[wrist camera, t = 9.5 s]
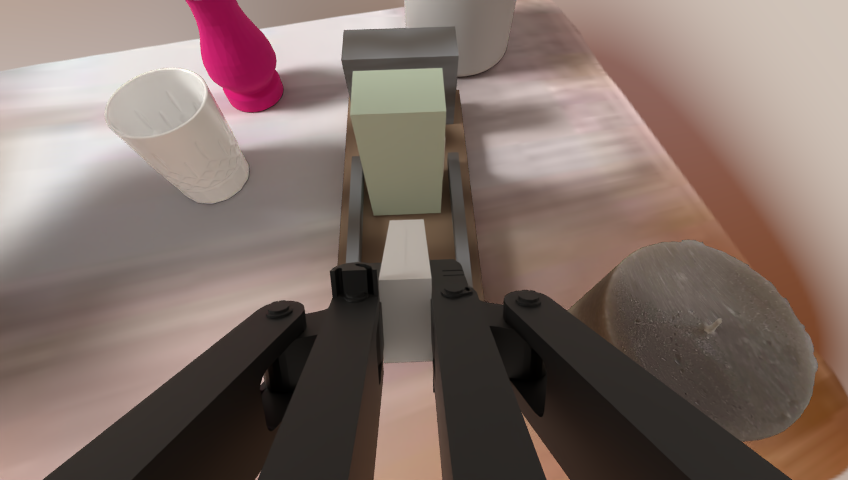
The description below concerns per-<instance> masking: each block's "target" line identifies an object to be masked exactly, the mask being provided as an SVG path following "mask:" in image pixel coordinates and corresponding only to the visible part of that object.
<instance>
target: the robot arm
mask: <svg viewBox="0 0 848 480" xmlns="http://www.w3.org/2000/svg"><path fill="white" fill-rule="evenodd" d="M330 276H331V285H332V295H333V298H332V301H331V303H330V306H329V308H328V309H325V310H322V311H318V312H313V313H308V314H305V309H304V305H302V304H301V303H299V302H295V301H285V300H283V301H279V302H278V301H276V302H273V303H271V304H269V305H266V306H264V307H262V308H260V309H259V310H257V311H256V312H254V313H253V314H252V315H251V316H249V317H248V318H247V319H246V320H244V321H243V322H242V323H241V324H239V325H238V326H237V327H235V328H234V329H233V330H232V331H230V332H229V333H228V334H227V335H225V336H224V337H223V338H222V339H220V340H219V341H218V342H216V343H215V344H214V345H213V346H211V347H210V348H209V349H208V350H206V351H205V352H204V353H203V354H201V355H200V356H199V357H197V358H196V359H195V360H194V361H192V362H191V363H190V364H189V365H187V366H186V367H185V368H184V369H182V370H181V371H180V372H178V373H177V374H176V375H175V376H173V377H172V378H171V379H170V380H168V381H167V382H166V383H165V384H163V385H162V386H161V387H159V388H158V389H157V390H156V391H154V392H153V393H152V394H151V395H149V396H148V397H147V398H146V399H144V400H143V401H142V402H140V403H139V404H138V405H137V406H135V407H134V408H133V409H132V410H130V411H129V412H128V413H127V414H125V415H124V416H123V417H121V418H120V419H119V420H118V421H116V422H115V423H114V424H113V425H111V426H110V427H109V428H108V429H106V430H105V431H104V432H102V433H101V434H100V435H99V436H97V437H96V438H95V439H94V440H92V441H91V442H90V443H89V444H87V445H86V446H85V447H83V448H82V449H81V450H80V451H78V452H77V453H76V454H75V455H73V456H72V457H71V458H70V459H68V460H67V461H66V462H64V463H63V464H62V465H61V466H59V467H58V468H57V469H56V470H54V471H53V472H52V473H51V474H49V475H48V476H47V477H45V478H44V479H43V480H255V479H256V477H257V476H258V474H259V473H260V471H261V473H260V475H259V478H258V480H373V479H374V469H375V458H376V448H377V437H378V427H379V416H380V406H381V396H382V385H383V375H384V371H383V357H384V363H399V362H422V361H433V393H435V399H436V411H437V422H438V434H439V445H440V457H441V468H442V480H546V477H545V474H544V472H543V469H542V466H541V464H540V461H539V458H538V456H537V453H536V450H535V448H534V445H533V442H532V440H531V437H530V434H529V431H528V429H527V426H526V423H525V421H524V418H523V415H524V416H525V418H526V419H527V420H528V422H529V423H530V425H531V426H532V427H533V429H534V430H535V432H536V433H537V434H538V436H539V437H540V438H541V440H542V441H543V443H544V444H545V445H546V447H547V448H548V450H549V451H550V452H551V454H552V455H553V457H554V458H555V459H556V461H557V462H558V463H559V465H560V466H561V468H562V469H563V470H564V472H565V473H566V475H567V476H568V477H569V479H570V480H792V479H790V478H789V477H788V476H786V475H785V474H784V473H782V472H781V471H780V470H778V469H777V468H776V467H774V466H773V465H772V464H770V463H769V462H768V461H766V460H765V459H764V458H762V457H761V456H760V455H758V454H757V453H756V452H754V451H753V450H752V449H751V448H749V447H748V446H747V445H745V444H744V443H743V442H741V441H740V440H739V439H737V438H736V437H735V436H733V435H732V434H731V433H729V432H728V431H727V430H725V429H724V428H723V427H721V426H720V425H719V424H717V423H716V422H715V421H713V420H712V419H711V418H709V417H708V416H707V415H705V414H704V413H703V412H701V411H700V410H699V409H697V408H696V407H695V406H693V405H692V404H691V403H689V402H688V401H687V400H685V399H684V398H683V397H681V396H680V395H679V394H677V393H676V392H675V391H673V390H672V389H671V388H669V387H668V386H667V385H665V384H664V383H663V382H661V381H660V380H659V379H657V378H656V377H655V376H653V375H652V374H651V373H649V372H648V371H647V370H645V369H644V368H643V367H641V366H640V365H639V364H637V363H636V362H635V361H633V360H632V359H631V358H629V357H628V356H627V355H625V354H624V353H623V352H621V351H620V350H619V349H617V348H616V347H615V346H613V345H612V344H611V343H609V342H608V341H607V340H605V339H604V338H603V337H601V336H600V335H599V334H597V333H596V332H595V331H593V330H592V329H591V328H589V327H588V326H587V325H585V324H584V323H583V322H581V321H580V320H579V319H577V318H576V317H575V316H573V315H572V314H571V313H569V312H568V311H567V310H565V309H564V308H563V307H561V306H560V305H559V304H557V303H556V302H555V301H553V300H552V299H551V298H549V297H548V296H546V295H544V294H541V293H538V292H535V291H532V290H530V291H528V290H522V291H515V292H511V293H509V294H507V295H506V296H505V298H504V305H501V304H493V303H487V302H484V301H481V300H479V297H478V294H477V292H476V291H475V290H474V288H472V287H470V286H468V283H467V280H466V277H465V274H464V271H463V268H462V266H461V264H460V263H459V262H457V261H456V260H454V259H440V260H429V256H428V248H427V241H426V233H425V226H424V219H417V220H390V222H389V227H388V232H387V238H386V243H385V248H384V254H383V259H382V263H365V262H352V263H346V264H342V265H339V266H336V267H334V268H333V269H332V270H331V271H330ZM263 376H264V382H263V383H262V384H261V381H262V377H263ZM260 384H261V385H260ZM521 412H522V413H523V415H522V413H521Z"/></svg>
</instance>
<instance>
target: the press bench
mask: <svg viewBox="0 0 848 480" xmlns="http://www.w3.org/2000/svg"><path fill="white" fill-rule="evenodd" d="M458 60H459V53H458V46H457V38H456V30H455V26H450V27H422V28H393V29H364V30H344V34H343V46H342V58H341V61H342V65H343V70H344V74H345V79H346V83H347V88H348V92H349V103H348V118H347V133H346V148H345V163H344V178H343V192H342V207H341V222H340V237H339V252H338V266H339V265H342V264H346V263H352V262H365V263H382V259H383V254H384V248H385V243H386V238H387V232H388V227H389V222H390V220H417V219H424V226H425V233H426V241H427V248H428V256H429V260H440V259H454V260H456V261H457V262H459V263H460V264H461V266H462V268H463V271H464V274H465V277H466V280H467V283H468V286H470V287H472V288H474V290H475V291H476V292H477V294H478V297H479V300H481V301H484V295H483V287H482V278H481V270H480V261H479V253H478V245H477V236H476V228H475V220H474V211H473V203H472V195H471V186H470V178H469V170H468V161H467V153H466V145H465V136H464V128H463V119H462V111H461V103H460V94H459V90H456V85H457V72H458ZM426 68H442V71H443V82H444V92H445V103H446V126H445V156H444V174H443V180H442V198H441V213H427V214H402V215H378V216H374V215H373V211H372V206H371V202H370V198H369V194H368V189H367V185H366V181H365V176H364V172H363V168H362V164H361V159H360V155H359V151H358V147H357V142H356V138H355V134H354V130H353V125H352V121H351V117H350V108H351V92H352V76H353V71H371V70H399V69H426ZM383 360H384V357H383Z"/></svg>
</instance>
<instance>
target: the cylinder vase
mask: <svg viewBox="0 0 848 480" xmlns="http://www.w3.org/2000/svg"><path fill="white" fill-rule="evenodd" d="M404 3H405V22H406V28H422V27H450V26H455V30H456V38H457V46H458V53H459V60H458V72H457V77H460V76H470V75H475V74H478V73H481V72H484V71H486V70H488V69H490V68H491V67H493V66H494V65H495V64H497V63H498V62H499V61H500V59H501V58H502V57H503V55H504V53H505V51H506V48H507V44H508V39H509V34H510V29H511V24H512V19H513V14H514V9H515V4H516V0H404Z"/></svg>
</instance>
